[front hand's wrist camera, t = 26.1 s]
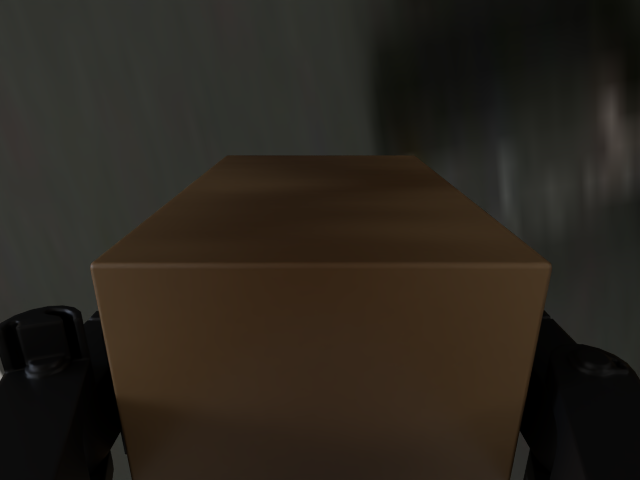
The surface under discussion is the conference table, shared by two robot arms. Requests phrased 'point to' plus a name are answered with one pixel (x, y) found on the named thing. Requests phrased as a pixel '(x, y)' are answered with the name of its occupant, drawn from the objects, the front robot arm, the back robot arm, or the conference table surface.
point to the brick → (320, 326)
